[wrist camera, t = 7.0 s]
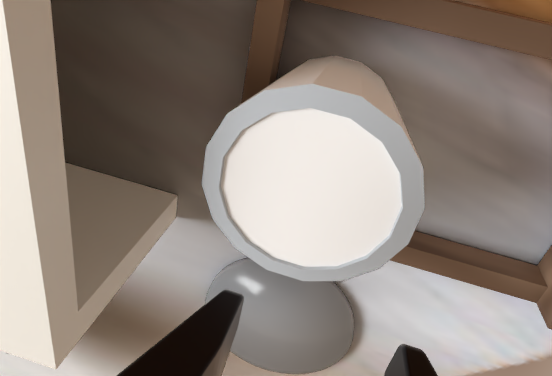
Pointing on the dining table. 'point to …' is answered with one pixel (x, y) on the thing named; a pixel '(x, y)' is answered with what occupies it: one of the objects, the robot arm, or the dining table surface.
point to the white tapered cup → (316, 174)
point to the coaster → (286, 319)
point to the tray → (454, 22)
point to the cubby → (57, 205)
